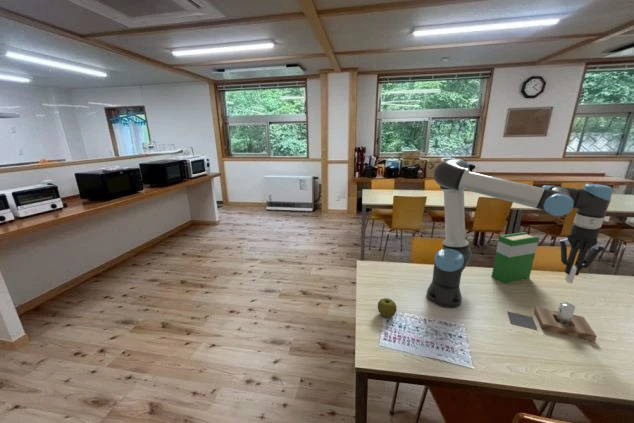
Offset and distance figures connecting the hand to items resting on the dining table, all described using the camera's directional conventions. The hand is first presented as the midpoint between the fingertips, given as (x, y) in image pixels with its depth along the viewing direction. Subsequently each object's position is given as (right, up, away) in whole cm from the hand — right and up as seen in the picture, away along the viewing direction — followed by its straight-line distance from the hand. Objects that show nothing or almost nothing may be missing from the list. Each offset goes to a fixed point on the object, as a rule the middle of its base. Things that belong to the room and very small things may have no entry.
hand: (568, 281), depth 108 cm
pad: (-15, -18, +5) cm, 24 cm away
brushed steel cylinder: (-1, -19, +2) cm, 19 cm away
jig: (-1, -19, +2) cm, 19 cm away
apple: (-70, -18, +10) cm, 73 cm away
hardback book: (+5, -8, +39) cm, 40 cm away
